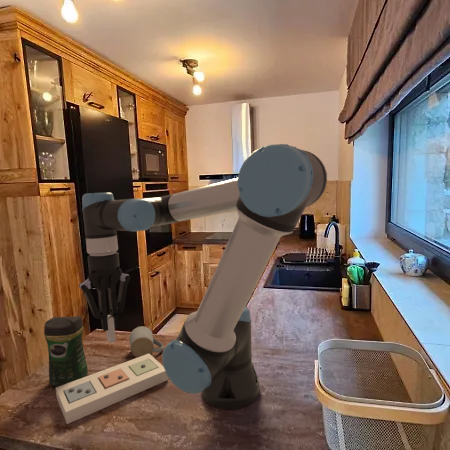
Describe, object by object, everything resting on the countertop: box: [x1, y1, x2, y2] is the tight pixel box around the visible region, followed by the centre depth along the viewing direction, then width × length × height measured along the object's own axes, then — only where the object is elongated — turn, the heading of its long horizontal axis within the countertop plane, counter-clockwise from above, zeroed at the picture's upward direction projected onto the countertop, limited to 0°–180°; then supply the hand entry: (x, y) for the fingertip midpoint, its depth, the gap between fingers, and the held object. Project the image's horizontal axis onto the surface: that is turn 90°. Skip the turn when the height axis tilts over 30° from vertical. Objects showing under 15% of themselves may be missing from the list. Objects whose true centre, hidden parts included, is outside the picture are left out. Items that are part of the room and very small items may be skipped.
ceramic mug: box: [129, 325, 164, 358], centre depth 105 cm, size 11×8×8 cm
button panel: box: [55, 353, 169, 425], centre depth 86 cm, size 12×26×3 cm, turn 128°
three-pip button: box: [64, 381, 96, 404], centre depth 81 cm, size 6×6×3 cm
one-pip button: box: [129, 359, 158, 376], centre depth 91 cm, size 6×6×3 cm
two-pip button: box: [99, 369, 128, 389], centre depth 86 cm, size 6×6×3 cm
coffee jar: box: [43, 315, 89, 387], centre depth 91 cm, size 10×8×19 cm
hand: (111, 340), depth 85 cm, fingers closed
